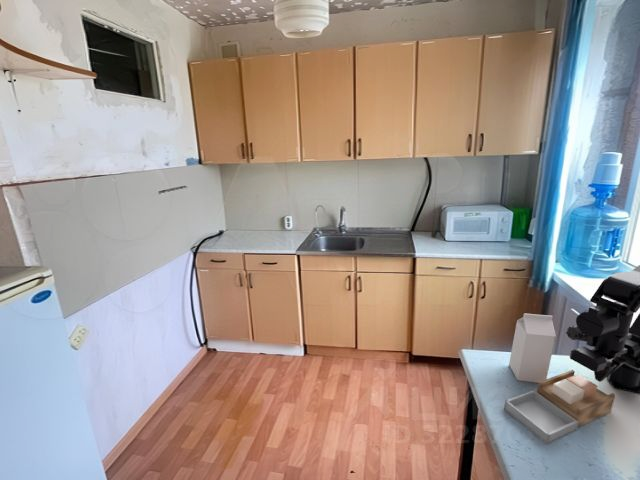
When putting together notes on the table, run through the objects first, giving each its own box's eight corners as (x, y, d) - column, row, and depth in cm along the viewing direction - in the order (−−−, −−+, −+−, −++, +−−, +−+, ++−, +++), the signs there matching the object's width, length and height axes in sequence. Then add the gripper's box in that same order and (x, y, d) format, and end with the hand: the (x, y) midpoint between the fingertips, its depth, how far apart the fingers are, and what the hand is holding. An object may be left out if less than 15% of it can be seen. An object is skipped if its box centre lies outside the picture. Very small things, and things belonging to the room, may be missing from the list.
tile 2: (576, 382, 87) (578, 374, 86) (595, 394, 83) (597, 385, 82) (564, 386, 85) (566, 378, 85) (583, 398, 81) (585, 390, 81)
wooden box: (568, 386, 91) (572, 369, 90) (610, 412, 82) (615, 394, 81) (535, 398, 87) (538, 382, 85) (575, 428, 78) (580, 409, 76)
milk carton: (545, 384, 92) (559, 322, 87) (517, 380, 93) (528, 320, 88) (534, 368, 99) (547, 310, 94) (508, 364, 100) (519, 307, 95)
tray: (531, 398, 87) (533, 390, 86) (576, 430, 77) (578, 421, 77) (503, 408, 84) (505, 400, 83) (546, 444, 74) (548, 435, 73)
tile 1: (563, 387, 85) (565, 378, 85) (582, 399, 81) (584, 390, 81) (551, 391, 84) (553, 383, 83) (570, 404, 80) (572, 395, 79)
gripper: (600, 306, 93) (587, 354, 97) (554, 318, 86) (543, 370, 90) (650, 325, 83) (634, 379, 87) (603, 341, 76) (588, 398, 80)
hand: (598, 380), depth 86 cm, fingers closed
